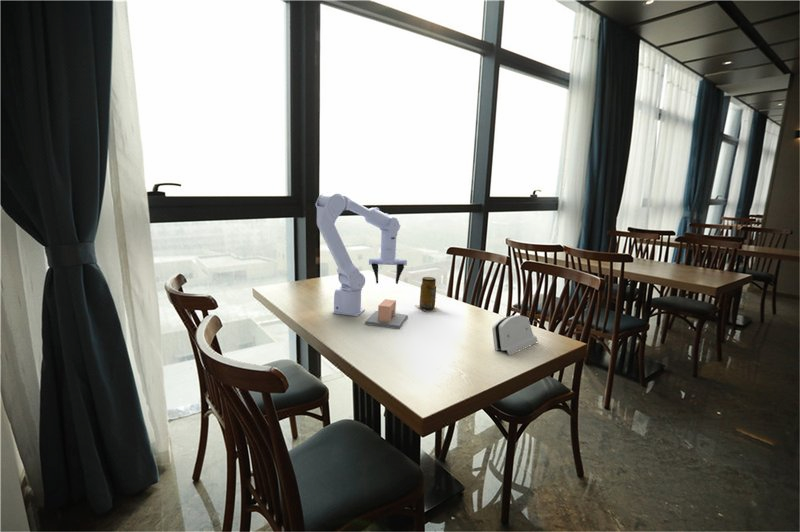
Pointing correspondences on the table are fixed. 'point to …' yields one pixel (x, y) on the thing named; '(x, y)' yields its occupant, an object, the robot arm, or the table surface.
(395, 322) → the plate
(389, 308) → the block
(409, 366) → the table surface
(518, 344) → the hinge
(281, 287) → the table surface
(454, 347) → the table surface
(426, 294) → the condiment
